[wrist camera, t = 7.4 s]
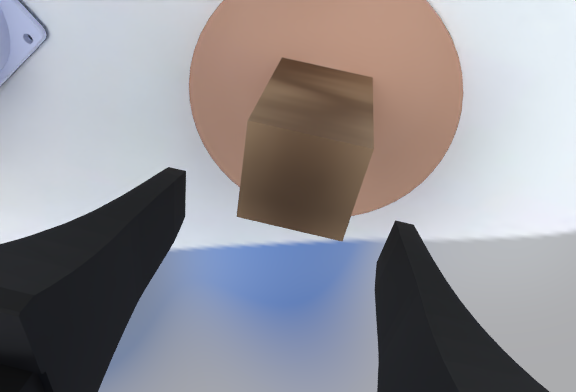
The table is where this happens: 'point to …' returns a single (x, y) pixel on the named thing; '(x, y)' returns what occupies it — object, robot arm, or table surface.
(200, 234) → the table surface
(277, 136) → the walnut block
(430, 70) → the peach round plate
